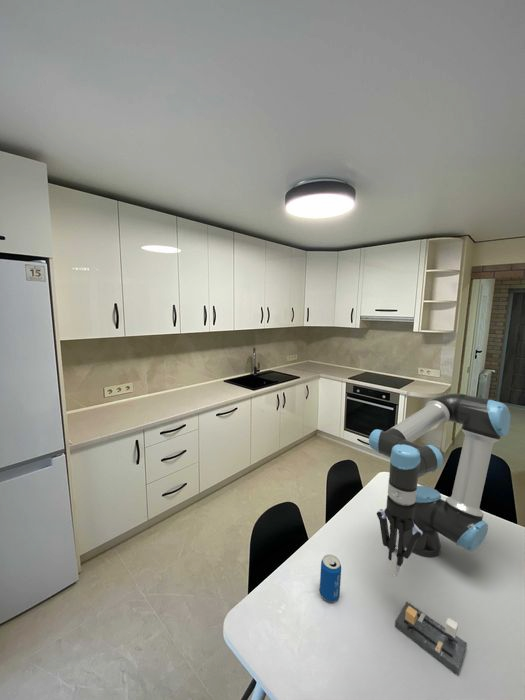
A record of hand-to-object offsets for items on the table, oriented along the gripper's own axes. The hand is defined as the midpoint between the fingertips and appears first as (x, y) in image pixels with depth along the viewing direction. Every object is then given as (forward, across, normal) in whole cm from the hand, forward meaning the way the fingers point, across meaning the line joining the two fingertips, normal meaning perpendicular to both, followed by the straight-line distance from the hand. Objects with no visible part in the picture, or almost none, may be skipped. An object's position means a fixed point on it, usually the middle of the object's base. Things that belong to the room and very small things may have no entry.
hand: (394, 571), depth 87 cm
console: (+15, +10, +3) cm, 19 cm away
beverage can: (+16, -17, -8) cm, 24 cm away
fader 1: (+13, +6, 0) cm, 14 cm away
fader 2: (+13, +15, +5) cm, 20 cm away
